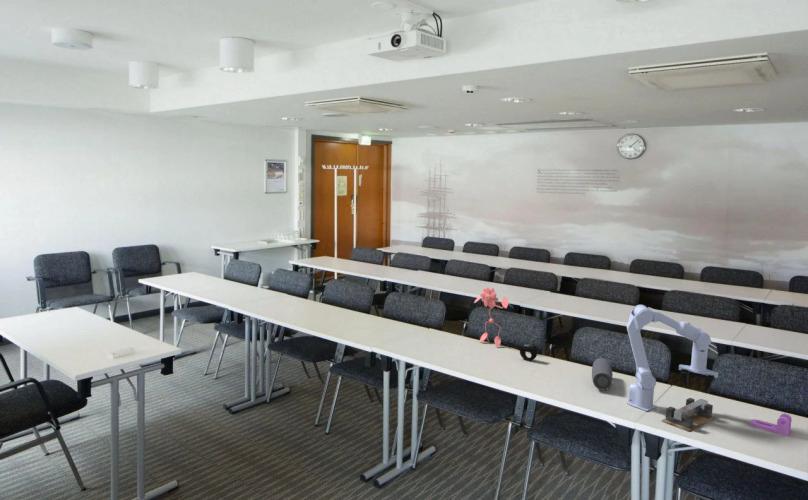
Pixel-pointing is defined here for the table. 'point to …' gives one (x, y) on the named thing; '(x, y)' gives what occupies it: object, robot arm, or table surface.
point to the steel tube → (690, 409)
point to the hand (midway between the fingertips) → (696, 389)
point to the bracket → (780, 428)
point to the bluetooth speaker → (602, 374)
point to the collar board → (696, 420)
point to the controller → (524, 348)
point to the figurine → (490, 300)
